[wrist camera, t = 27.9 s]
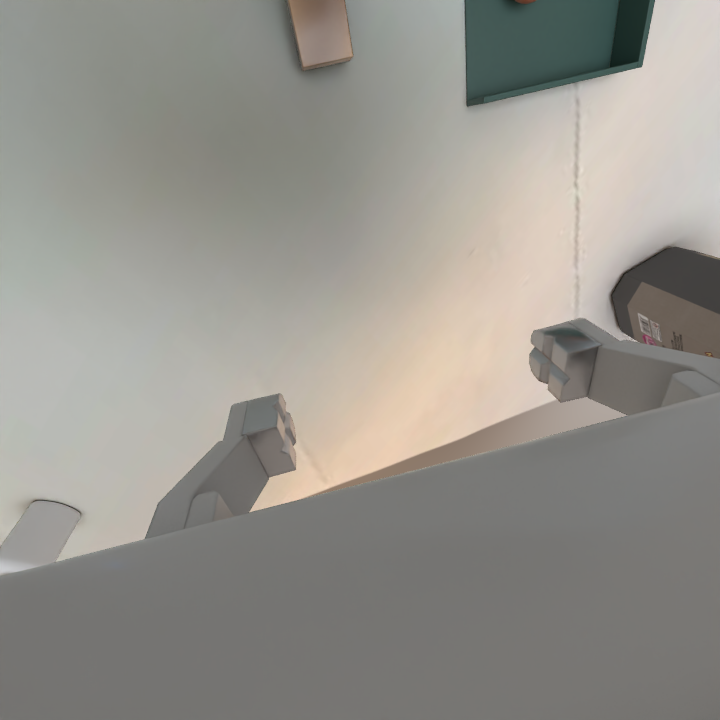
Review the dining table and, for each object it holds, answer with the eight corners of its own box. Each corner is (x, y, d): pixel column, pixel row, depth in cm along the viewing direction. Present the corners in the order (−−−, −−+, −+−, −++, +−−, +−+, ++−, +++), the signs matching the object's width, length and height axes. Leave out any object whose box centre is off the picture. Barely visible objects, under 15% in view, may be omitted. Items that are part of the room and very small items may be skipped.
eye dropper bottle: (58, 527, 48) (-6, 632, 37) (22, 503, 44) (-57, 611, 34) (87, 516, 47) (31, 619, 37) (54, 492, 44) (-17, 597, 34)
